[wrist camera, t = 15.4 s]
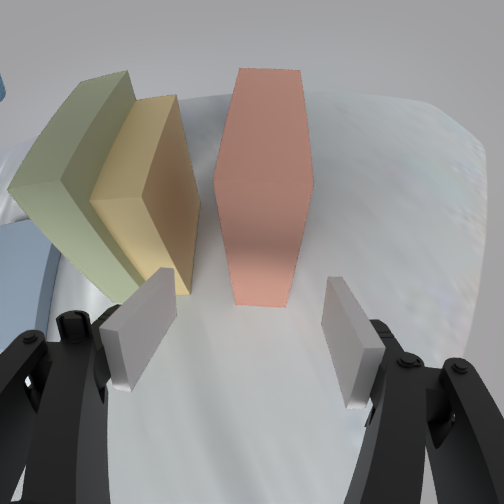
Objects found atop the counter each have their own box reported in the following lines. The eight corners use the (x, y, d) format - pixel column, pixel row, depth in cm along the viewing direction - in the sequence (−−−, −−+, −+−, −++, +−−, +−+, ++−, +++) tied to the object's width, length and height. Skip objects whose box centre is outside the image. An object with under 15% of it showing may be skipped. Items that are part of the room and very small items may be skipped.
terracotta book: (246, 200, 33) (239, 68, 19) (286, 202, 33) (300, 70, 19) (235, 304, 27) (212, 179, 13) (285, 307, 27) (313, 183, 13)
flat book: (9, 233, 32) (0, 224, 30) (68, 222, 32) (60, 212, 30) (-18, 349, 23) (-29, 343, 21) (44, 358, 24) (31, 353, 22)
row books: (135, 205, 33) (81, 81, 18) (200, 201, 33) (170, 62, 18) (112, 302, 27) (6, 189, 12) (189, 304, 27) (117, 171, 12)
